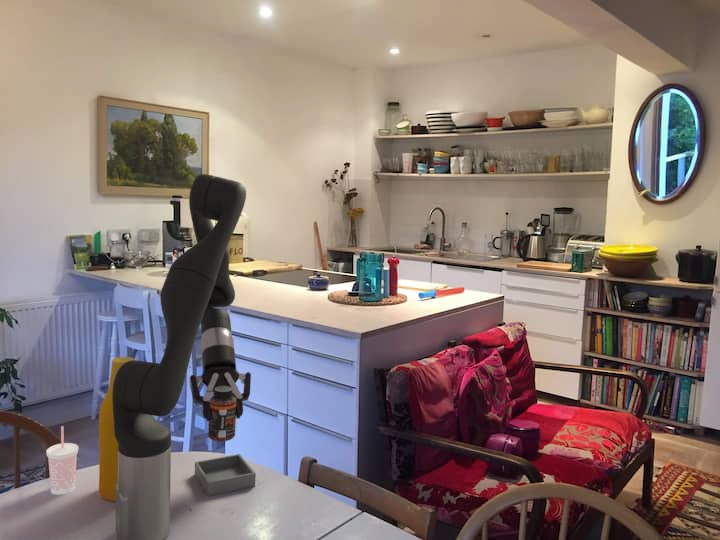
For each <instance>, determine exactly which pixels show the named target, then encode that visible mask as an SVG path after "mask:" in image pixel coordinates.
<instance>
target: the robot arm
mask: <svg viewBox="0 0 720 540" xmlns="http://www.w3.org/2000/svg"><path fill="white" fill-rule="evenodd" d="M246 199H247V189H246V186H245V185H244V184H243V183H241V182H238V181H235V180H233V179H228V178H224V177H220V176H216V175H212V174H207V173H202V174H201V173H200V174H199V175H197V176H196V177H195V179H194V180H193V183H191V187H190V192H189V201H188V202H189V205H188V207H189V211H190V217H191V221H192V228H193V231H194V235H195V240H196V244H194V245H193V246H191V247H190V248H188V249H187V250H186V251H185V252H183V253H182V254H181V255H179V256H178V257H177V258H176V259H175V260H174V261H173V262H172V263H171V265H170V268H169V269H168V272H167V275H166V277H165V280H164V282H163V285H162V287H161V290H160V299H159V300H160V306H161V311H162V315H163V320H164V323H165V328H166V335H167V336H166V337H167V338H166V344H165V349H164V352H163V355H162V357H161V361H160V362H159V363H156V362H152V361H143V360H135V359H134V360H132V361H128V362H126V363H124V364H123V365H122V366H121V367H120V368H119V370H118V371H117V373H116V376H115V379H114V383H113V391H112V402H113V419H114V434H115V438H116V440H117V442H118V484H116V501H115V534H116V537H117V539H118V540H165V539H166V538H167V537H168V535H169V534H170V530H171V529H170V528H171V471H172V470H171V467H172V466H171V465H172V464H171V462H172V461H171V460H172V455H171V454H172V433H171V431H170V429H169V428H168V427H167V426H166V425H165V424H163V423H162V422H160V421H158V419H156V418H155V417H166V416H168V415H169V414H171V413H172V411H173V410H174V409H175V407H176V405H177V404H178V402H179V400H180V396H181V395H182V391H183V387H184V383H185V380H186V376H187V373H188V368H189V365H190V359H191V355H192V353H193V349H194V345H195V341H196V338H197V335H198V333H199V330H200V329H201V332H200V333H201V342H200V346H201V349H200V353H201V359H202V360H201V361H202V373H201V375H197V376H196V375H194V374H191V375H190V377H189V381H188V382H189V388H190V392H191V396H192V400H193V401H192V402H193V403H194V404H196V405H197V404H199V405H201V406H202V417H203V419H205V421H206V422H209V421H210V417H211V416H210V402H209V401H210V399H211V398H212V395H213V394H214V389H215V388H216V387H218V386H229V387H231V388H232V389H233V394H232V395H233V396H234V397H235V398H236V420H238V419H241V417H242V416H243V413H244V405H243V402H244V401H248V400H249V397H250V395H251V382H252V373H251V372H249V371H248V372H245V373H239V371H238V370H237V362H236V354H235V342H234V337H233V335H232V325H231V324H232V322H231V316H230V313H229V312H227V311H226V310H224V309H220V308H227V307H229V306H231V305H232V304H233V302H234V301H235V298H236V292H235V289H234V284H233V282H232V280H231V277H230V274H229V273H230V272H229V271H230V254H229V253H230V252H229V249H228V246H229V243H230V240H231V239H232V237H233V234H234V232H235V229H236V227H237V224H238V222H239V220H240V218H241V216H242V213H243V210H244V207H245V203H246ZM212 221H216V222H217V223H215V225H214V224H213V222H212ZM238 380H240V383H241V384H243V393H241V392H240V390H239V387H238V385H237V384H236V383H237V381H238ZM201 382H202V383H203V384H204V385H205V386H206V390H205V392H204V395H201V394H200V391H199V390H200V389H199V386H200V384H201Z"/></svg>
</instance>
